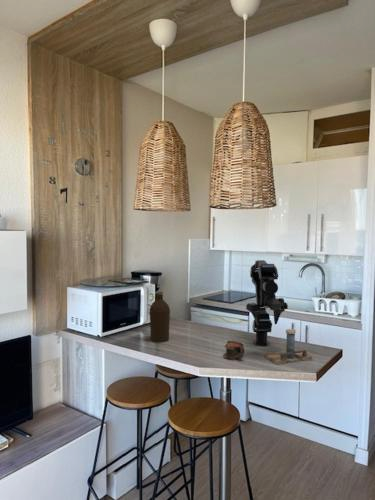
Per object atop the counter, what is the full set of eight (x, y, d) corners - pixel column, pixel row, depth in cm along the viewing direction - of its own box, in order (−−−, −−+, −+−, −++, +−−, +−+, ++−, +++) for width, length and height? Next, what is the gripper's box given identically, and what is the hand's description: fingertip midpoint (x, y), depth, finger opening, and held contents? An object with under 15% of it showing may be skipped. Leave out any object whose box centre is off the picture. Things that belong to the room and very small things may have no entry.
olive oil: (157, 344, 184) (156, 294, 183) (145, 339, 192) (145, 291, 191) (174, 340, 190) (174, 292, 189) (162, 335, 199) (162, 289, 197)
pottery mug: (217, 357, 165) (221, 339, 168) (233, 363, 169) (237, 346, 172) (235, 358, 155) (239, 339, 158) (251, 364, 159) (254, 345, 162)
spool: (283, 359, 161) (283, 329, 160) (290, 357, 163) (290, 328, 162) (290, 362, 157) (291, 332, 157) (297, 360, 160) (297, 330, 159)
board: (264, 357, 164) (264, 347, 164) (298, 352, 170) (298, 343, 169) (276, 364, 154) (276, 354, 154) (312, 359, 160) (312, 349, 160)
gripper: (258, 294, 157) (257, 330, 158) (295, 292, 164) (294, 327, 164) (245, 291, 168) (245, 325, 168) (280, 289, 174) (280, 321, 175)
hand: (267, 324), depth 169 cm, fingers open, 9 cm apart
